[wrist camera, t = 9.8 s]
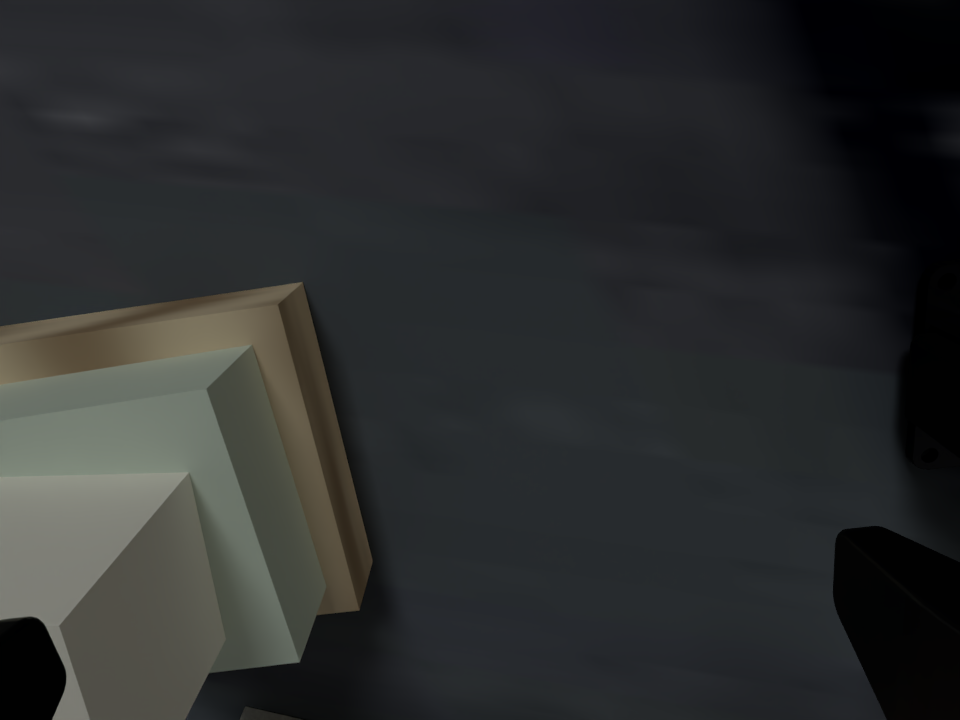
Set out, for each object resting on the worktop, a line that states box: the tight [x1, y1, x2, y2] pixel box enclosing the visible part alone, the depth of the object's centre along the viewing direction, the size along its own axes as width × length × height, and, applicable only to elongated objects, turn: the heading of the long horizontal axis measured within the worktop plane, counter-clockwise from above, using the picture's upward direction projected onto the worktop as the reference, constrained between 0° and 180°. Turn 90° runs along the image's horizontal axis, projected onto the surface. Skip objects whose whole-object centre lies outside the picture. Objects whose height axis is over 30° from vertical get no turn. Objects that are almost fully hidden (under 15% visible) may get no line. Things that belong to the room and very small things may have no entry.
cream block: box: [0, 472, 226, 720], centre depth 14 cm, size 5×5×5 cm
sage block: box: [0, 345, 327, 673], centre depth 18 cm, size 8×8×3 cm
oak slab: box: [0, 282, 373, 615], centre depth 21 cm, size 10×10×3 cm
